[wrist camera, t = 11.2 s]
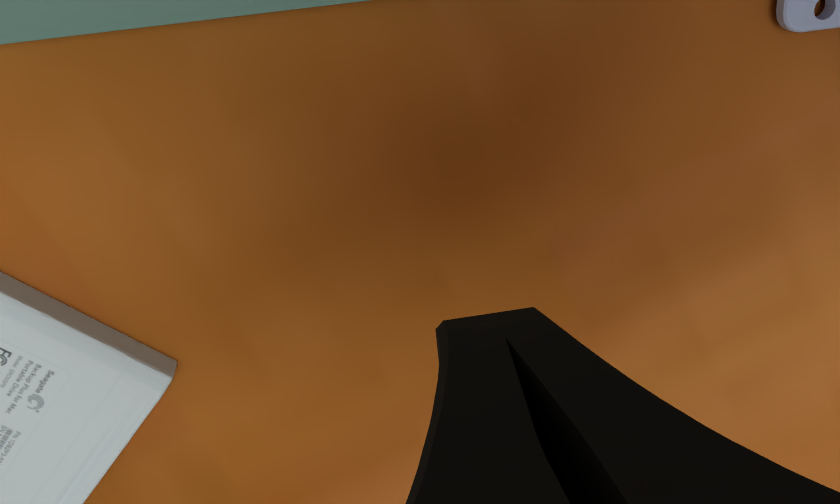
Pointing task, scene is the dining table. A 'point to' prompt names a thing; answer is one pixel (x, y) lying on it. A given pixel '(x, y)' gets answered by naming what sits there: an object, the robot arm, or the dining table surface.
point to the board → (124, 14)
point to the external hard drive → (66, 396)
